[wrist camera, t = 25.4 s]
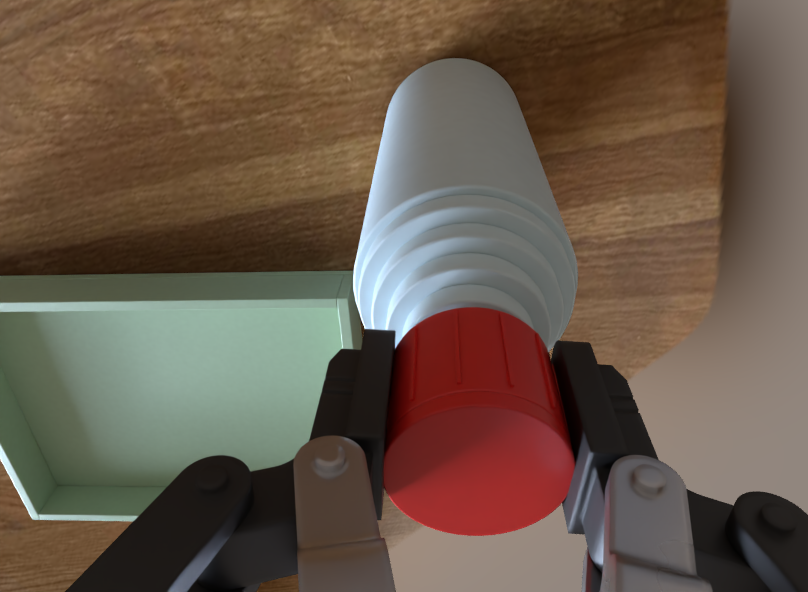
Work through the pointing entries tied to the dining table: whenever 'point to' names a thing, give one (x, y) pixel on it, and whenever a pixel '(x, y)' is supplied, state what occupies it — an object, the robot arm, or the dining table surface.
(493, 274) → the bottle
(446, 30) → the dining table surface
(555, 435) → the cap
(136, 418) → the tray
